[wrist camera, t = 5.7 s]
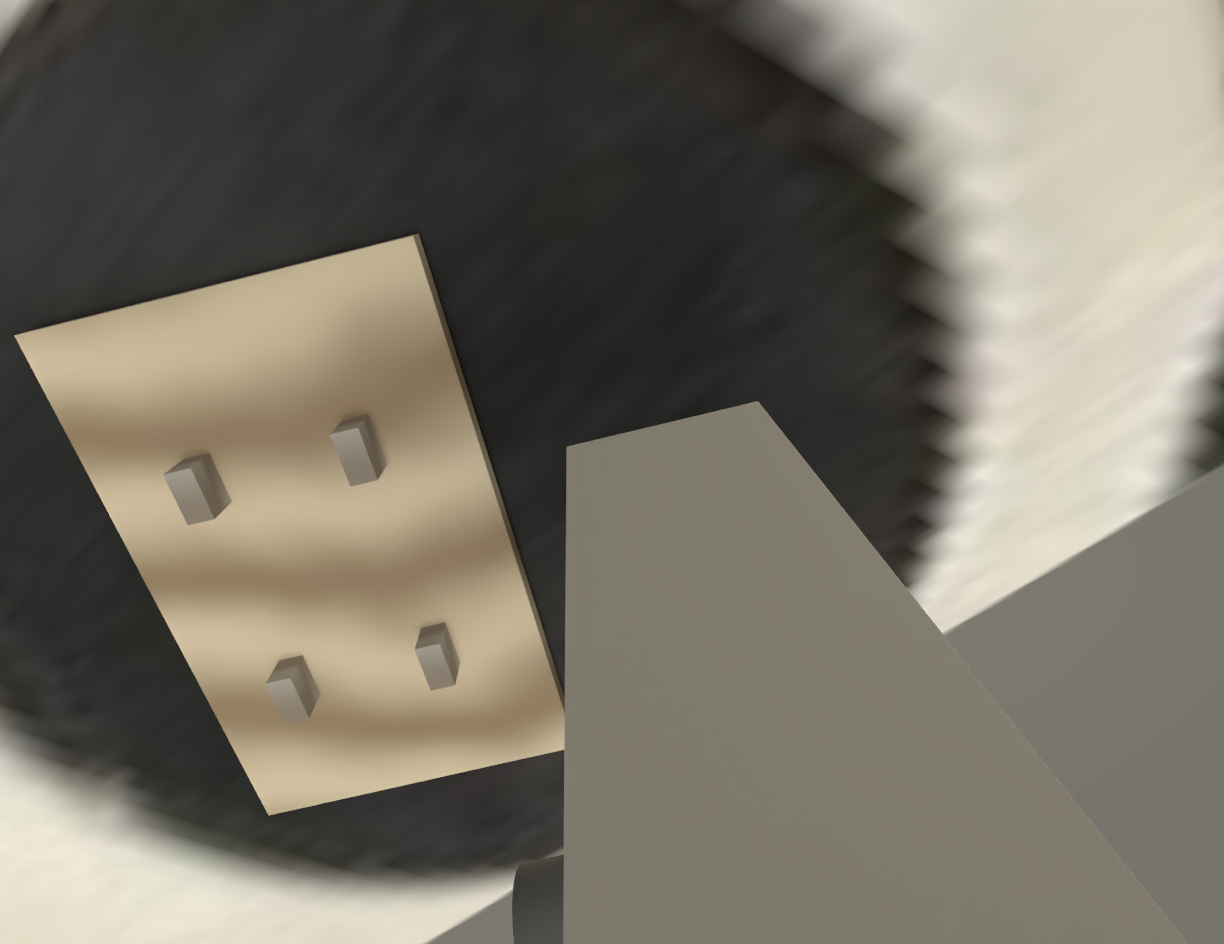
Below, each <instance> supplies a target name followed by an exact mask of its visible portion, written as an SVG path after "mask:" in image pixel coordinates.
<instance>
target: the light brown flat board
mask: <svg viewBox="0 0 1224 944" xmlns="http://www.w3.org/2000/svg"><path fill="white" fill-rule="evenodd" d="M15 338H16V340H17V342H18V343H19V345H20V347H21V349H22V351H23V353H24V355H25V357H26V358H27V360H28V362H29V364H30V366H31V368H32V370H33V372H34V374H35V375H36V377H37V379H38V381H39V383H40V385H41V387H42V389H43V391H44V392H45V394H46V396H47V398H48V400H49V402H50V404H51V406H52V408H53V409H54V411H55V413H56V415H57V417H58V419H59V421H60V423H61V425H62V426H63V428H64V430H65V432H66V434H67V436H68V438H69V440H70V442H71V443H72V445H73V447H74V449H75V451H76V453H77V455H78V457H79V458H80V460H81V462H82V464H83V466H84V468H85V470H86V472H87V474H88V475H89V477H90V479H91V481H92V483H93V485H94V487H95V489H96V491H97V492H98V494H99V496H100V498H101V500H102V502H103V504H104V506H105V508H106V509H107V511H108V513H109V515H110V517H111V519H112V521H113V523H114V525H115V526H116V528H117V530H118V532H119V534H120V536H121V538H122V540H123V541H124V543H125V545H126V547H127V549H128V551H129V553H130V555H131V557H132V558H133V560H134V562H135V564H136V566H137V568H138V570H139V572H140V574H141V575H142V577H143V579H144V581H145V583H146V585H147V587H148V589H149V591H150V592H151V594H152V596H153V598H154V600H155V602H156V604H157V606H158V608H159V609H160V611H161V613H162V615H163V617H164V619H165V621H166V623H167V624H168V626H169V628H170V630H171V632H172V634H173V636H174V638H175V640H176V641H177V643H178V645H179V647H180V649H181V651H182V653H183V655H184V657H185V658H186V660H187V662H188V664H189V666H190V668H191V670H192V672H193V674H194V675H195V677H196V679H197V681H198V683H199V685H200V687H201V689H202V691H203V692H204V694H205V696H206V698H207V700H208V702H209V704H210V706H211V707H212V709H213V711H214V713H215V715H216V717H217V719H218V721H219V723H220V724H221V726H222V728H223V730H224V732H225V734H226V736H227V738H228V740H229V741H230V743H231V745H232V747H233V749H234V751H235V753H236V755H237V757H238V758H239V760H240V762H241V764H242V766H243V768H244V770H245V772H246V774H247V775H248V777H249V779H250V781H251V783H252V785H253V787H254V789H255V790H256V792H257V794H258V796H259V798H260V800H261V802H262V804H263V806H264V807H265V809H266V811H267V813H268V815H273V814H277V813H282V812H286V811H291V810H295V809H300V808H304V807H309V806H313V805H318V804H322V803H327V802H331V801H336V800H340V799H344V798H349V797H353V796H358V795H362V794H367V793H371V792H376V791H380V790H385V789H389V788H394V787H398V786H403V785H407V784H412V783H416V782H421V781H425V780H430V779H434V778H439V777H443V776H448V775H452V774H457V773H461V772H466V771H470V770H474V769H479V768H483V767H488V766H492V765H497V764H501V763H506V762H510V761H515V760H519V759H524V758H528V757H533V756H537V755H542V754H546V753H551V752H555V751H560V750H564V749H565V697H564V694H563V691H562V688H561V685H560V682H559V678H558V675H557V672H556V669H555V666H554V662H553V659H552V656H551V653H550V650H549V647H548V643H547V640H546V637H545V634H544V631H543V627H542V624H541V621H540V618H539V615H538V612H537V608H536V605H535V602H534V599H533V596H532V592H531V589H530V586H529V583H528V580H527V577H526V573H525V570H524V567H523V564H522V561H521V558H520V554H519V551H518V548H517V545H516V542H515V538H514V535H513V532H512V529H511V526H510V523H509V519H508V516H507V513H506V510H505V507H504V503H503V500H502V497H501V494H500V491H499V488H498V484H497V481H496V478H495V475H494V472H493V468H492V465H491V462H490V459H489V456H488V453H487V449H486V446H485V443H484V440H483V437H482V433H481V430H480V427H479V424H478V421H477V418H476V414H475V411H474V408H473V405H472V402H471V399H470V395H469V392H468V389H467V386H466V383H465V379H464V376H463V373H462V370H461V367H460V364H459V360H458V357H457V354H456V351H455V348H454V344H453V341H452V338H451V335H450V332H449V329H448V325H447V322H446V319H445V316H444V313H443V309H442V306H441V303H440V300H439V297H438V294H437V290H436V287H435V284H434V281H433V278H432V274H431V271H430V268H429V265H428V262H427V259H426V255H425V252H424V249H423V246H422V243H421V240H420V236H419V233H418V234H414V235H410V236H406V237H402V238H398V239H394V240H390V241H386V242H382V243H378V244H374V245H370V246H366V247H362V248H358V249H354V250H350V251H346V252H342V253H338V254H334V255H330V256H326V257H322V258H318V259H314V260H310V261H306V262H302V263H298V264H294V265H290V266H287V267H283V268H279V269H275V270H271V271H267V272H263V273H259V274H255V275H251V276H247V277H243V278H239V279H235V280H231V281H227V282H223V283H219V284H215V285H211V286H207V287H203V288H199V289H195V290H191V291H187V292H183V293H179V294H175V295H171V296H167V297H163V298H159V299H155V300H151V301H147V302H143V303H139V304H135V305H131V306H127V307H123V308H119V309H115V310H111V311H107V312H103V313H99V314H95V315H91V316H87V317H83V318H79V319H75V320H71V321H67V322H63V323H59V324H55V325H51V326H47V327H43V328H39V329H35V330H31V331H28V332H25V333H21V334H18V335H15Z"/></svg>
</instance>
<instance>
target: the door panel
mask: <svg viewBox="0 0 1224 944" xmlns="http://www.w3.org/2000/svg"><path fill="white" fill-rule="evenodd" d="M512 903H513V904H512V915H513V936H514V944H1188V943H1187V942H1186V941H1185V939H1184V938H1183V937H1182V935H1181V934H1180V933H1179V932H1178V930H1177V929H1176V928H1175V927H1174V925H1173V924H1172V923H1171V922H1170V920H1169V919H1168V918H1167V917H1166V915H1165V914H1164V913H1163V912H1162V910H1161V909H1160V908H1159V906H1158V905H1157V904H1156V903H1155V901H1154V900H1153V899H1152V898H1151V897H1150V895H1149V894H1148V893H1147V891H1146V890H1145V889H1144V888H1143V886H1142V885H1141V884H1140V883H1139V881H1138V880H1137V879H1136V878H1135V876H1134V875H1133V874H1132V872H1131V871H1130V870H1129V869H1128V867H1127V866H1126V865H1125V864H1124V862H1123V861H1122V860H1121V859H1120V857H1119V856H1118V855H1117V853H1116V852H1115V851H1114V850H1113V848H1112V847H1111V846H1110V845H1109V843H1108V842H1107V841H1106V840H1105V838H1104V837H1103V836H1102V835H1101V833H1100V832H1099V831H1098V830H1097V828H1096V827H1095V826H1094V824H1093V823H1092V822H1091V821H1090V819H1089V818H1088V817H1087V816H1086V814H1085V813H1084V812H1083V811H1082V809H1081V808H1080V807H1079V806H1078V804H1077V803H1076V802H1075V801H1074V799H1073V798H1072V797H1071V795H1070V794H1069V793H1068V792H1067V790H1065V788H1064V787H1063V786H1062V784H1061V783H1060V782H1059V780H1058V779H1057V778H1056V777H1055V775H1054V774H1053V773H1052V771H1051V770H1050V769H1049V768H1048V767H1047V765H1046V764H1045V763H1044V762H1043V760H1042V759H1041V758H1040V756H1039V755H1038V754H1037V753H1036V752H1035V750H1034V749H1033V748H1032V746H1031V745H1030V744H1029V743H1028V741H1027V740H1026V739H1025V738H1024V736H1023V735H1022V734H1021V732H1020V731H1019V730H1018V729H1017V727H1016V726H1015V725H1014V724H1013V723H1012V721H1011V720H1010V719H1009V717H1008V716H1007V715H1006V713H1005V712H1004V711H1003V710H1002V708H1001V707H1000V706H999V705H998V703H997V702H996V701H995V700H994V698H993V697H992V696H991V695H990V693H989V692H988V691H987V689H986V688H985V687H984V686H983V684H982V683H981V682H980V681H979V679H978V678H977V677H976V676H975V674H974V673H973V672H972V671H971V669H970V668H969V667H968V666H967V664H966V663H965V662H964V661H963V659H962V658H961V657H960V656H959V654H958V653H957V652H956V651H955V649H954V648H953V647H952V645H951V644H950V643H949V642H948V640H947V639H946V638H945V637H944V635H943V634H942V633H941V631H940V630H939V629H938V628H937V626H936V625H935V624H934V623H933V621H932V620H931V619H930V618H929V616H928V615H927V614H926V613H925V611H924V610H923V609H922V608H921V606H920V605H919V604H918V602H917V601H916V600H915V599H914V597H913V596H912V595H911V594H910V592H909V591H908V590H907V589H906V587H905V586H904V585H903V584H902V582H901V581H900V580H899V578H898V577H897V576H896V575H895V573H894V572H893V571H892V570H891V568H890V567H889V566H888V565H887V563H886V562H885V561H884V560H883V558H882V557H881V556H880V555H879V553H878V552H877V551H876V549H875V548H874V547H873V546H872V544H871V543H870V542H869V541H868V539H867V538H866V537H865V536H864V534H863V533H862V532H861V531H860V529H859V528H858V527H857V526H856V524H855V523H854V522H853V520H852V519H851V518H850V517H849V515H848V514H847V513H846V512H845V510H844V509H843V508H842V507H841V505H840V504H839V503H838V502H837V500H836V499H835V498H834V496H833V495H832V494H831V493H830V491H829V490H828V489H827V488H826V486H825V485H824V484H823V483H822V481H821V480H820V479H819V478H818V476H817V475H816V474H815V473H814V471H813V470H812V469H811V467H810V466H809V465H808V464H807V462H806V461H805V460H804V459H803V457H802V456H801V455H800V454H799V452H798V451H797V450H796V449H795V447H794V446H793V445H792V444H791V442H790V441H789V440H788V438H787V437H786V436H785V435H784V433H783V432H782V431H781V430H780V428H779V427H778V426H777V425H776V423H775V422H774V421H773V420H772V418H771V417H770V416H769V415H768V413H767V412H766V411H765V409H764V408H763V407H762V406H761V404H760V403H759V402H758V401H757V402H753V403H749V404H744V405H740V406H736V407H732V408H728V409H723V410H719V411H715V412H711V413H707V414H702V415H698V416H694V417H690V418H686V419H681V420H677V421H673V422H669V423H665V424H660V425H656V426H652V427H648V428H644V429H639V430H635V431H631V432H627V433H622V434H618V435H614V436H610V437H606V438H601V439H597V440H593V441H589V442H585V443H580V444H576V445H572V446H568V447H567V464H566V608H565V751H564V855H560V856H555V857H551V858H546V859H541V860H537V861H532V862H528V863H523V864H521V865H519V867H518V869H517V871H516V875H515V880H514V887H513V902H512Z"/></svg>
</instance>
